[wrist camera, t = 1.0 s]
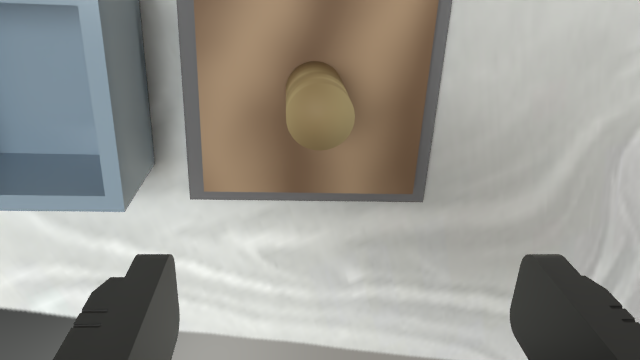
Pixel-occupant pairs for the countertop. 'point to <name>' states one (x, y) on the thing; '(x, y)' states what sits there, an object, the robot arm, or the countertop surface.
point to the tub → (72, 105)
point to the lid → (312, 93)
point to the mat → (197, 192)
